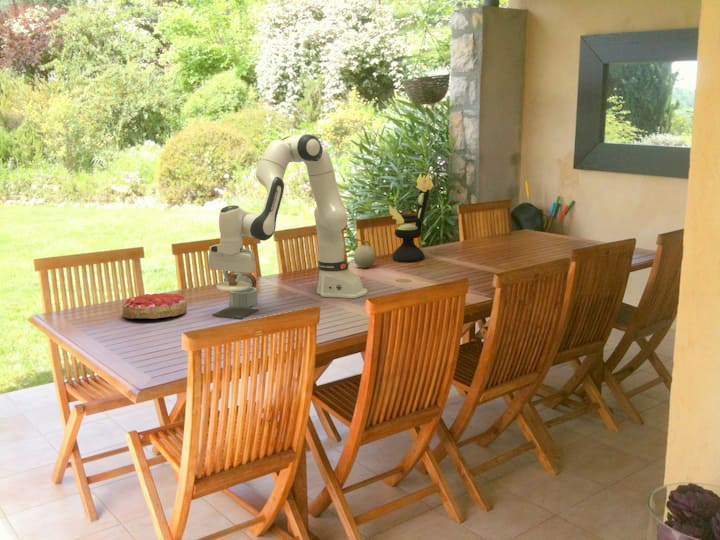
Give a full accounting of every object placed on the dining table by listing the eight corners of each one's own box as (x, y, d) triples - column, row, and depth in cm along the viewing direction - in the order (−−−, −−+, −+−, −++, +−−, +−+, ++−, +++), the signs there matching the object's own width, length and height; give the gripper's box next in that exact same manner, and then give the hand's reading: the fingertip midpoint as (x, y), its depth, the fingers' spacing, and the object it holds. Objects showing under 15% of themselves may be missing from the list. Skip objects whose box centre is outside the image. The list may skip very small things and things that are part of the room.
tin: (257, 291, 346) (256, 272, 344) (253, 292, 343) (253, 274, 341) (227, 289, 351) (226, 270, 349) (223, 290, 348) (222, 272, 346)
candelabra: (388, 256, 415) (387, 171, 405) (429, 254, 418) (429, 170, 408) (393, 263, 397) (393, 175, 387) (436, 261, 399) (436, 174, 389)
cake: (154, 324, 293) (153, 303, 292) (108, 318, 306) (107, 298, 305) (199, 312, 314) (198, 293, 313) (155, 307, 327) (154, 289, 326)
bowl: (262, 301, 327) (261, 288, 325) (248, 308, 317) (247, 294, 316) (239, 299, 331) (239, 285, 330) (225, 305, 321) (224, 291, 320)
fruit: (379, 266, 391) (379, 237, 388) (367, 270, 382) (367, 240, 379) (362, 264, 397) (361, 235, 394) (350, 268, 387) (349, 239, 384)
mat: (258, 311, 313) (258, 309, 313) (240, 319, 301) (240, 317, 301) (230, 308, 318) (230, 306, 318) (212, 316, 307) (212, 314, 306)
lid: (256, 285, 310) (255, 272, 309) (238, 292, 299) (237, 279, 298) (228, 282, 316) (228, 270, 315) (209, 289, 304) (209, 276, 303)
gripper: (258, 248, 303) (259, 282, 305) (214, 244, 311) (216, 278, 314) (249, 250, 297) (251, 286, 300) (205, 247, 305) (207, 281, 308)
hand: (233, 282), depth 307 cm, fingers closed on lid, 3 cm apart
